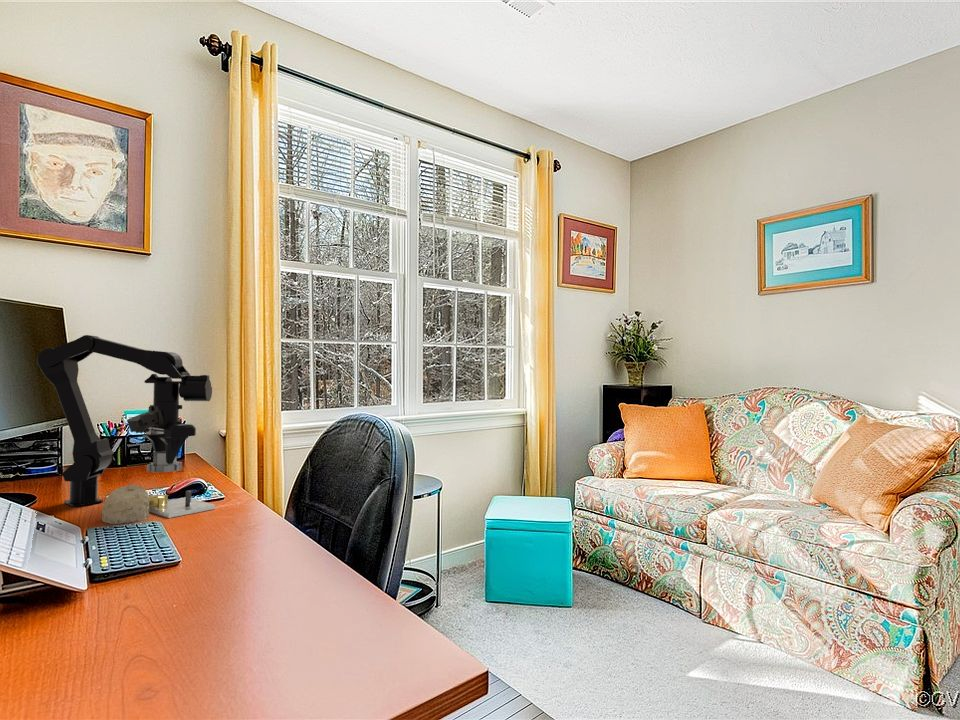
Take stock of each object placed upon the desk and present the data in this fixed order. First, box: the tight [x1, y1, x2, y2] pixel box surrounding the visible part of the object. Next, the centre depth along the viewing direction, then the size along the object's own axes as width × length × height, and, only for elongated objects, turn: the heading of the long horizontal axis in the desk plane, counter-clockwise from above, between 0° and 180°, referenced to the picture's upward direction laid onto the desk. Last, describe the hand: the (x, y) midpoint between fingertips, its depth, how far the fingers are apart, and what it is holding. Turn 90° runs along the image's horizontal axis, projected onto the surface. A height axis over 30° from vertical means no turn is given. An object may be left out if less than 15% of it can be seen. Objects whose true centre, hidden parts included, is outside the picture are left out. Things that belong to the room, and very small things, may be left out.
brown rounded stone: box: [101, 484, 150, 525], centre depth 129 cm, size 9×10×10 cm
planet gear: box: [146, 451, 183, 474], centre depth 146 cm, size 8×8×4 cm
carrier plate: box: [148, 490, 216, 519], centre depth 138 cm, size 13×12×4 cm
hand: (164, 462), depth 146 cm, fingers closed on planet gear, 5 cm apart
